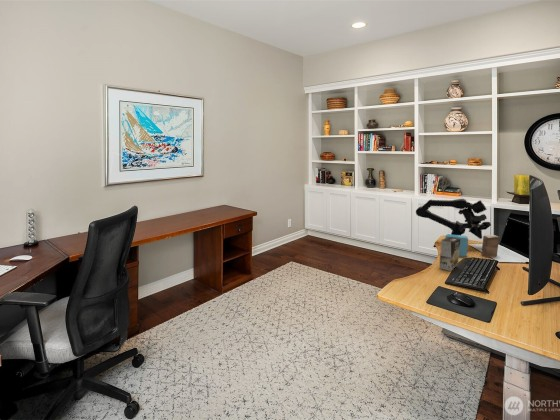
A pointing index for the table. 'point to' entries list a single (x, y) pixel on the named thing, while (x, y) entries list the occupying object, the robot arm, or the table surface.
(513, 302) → the table surface
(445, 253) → the coffee box
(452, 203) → the robot arm
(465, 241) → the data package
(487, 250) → the walnut block
